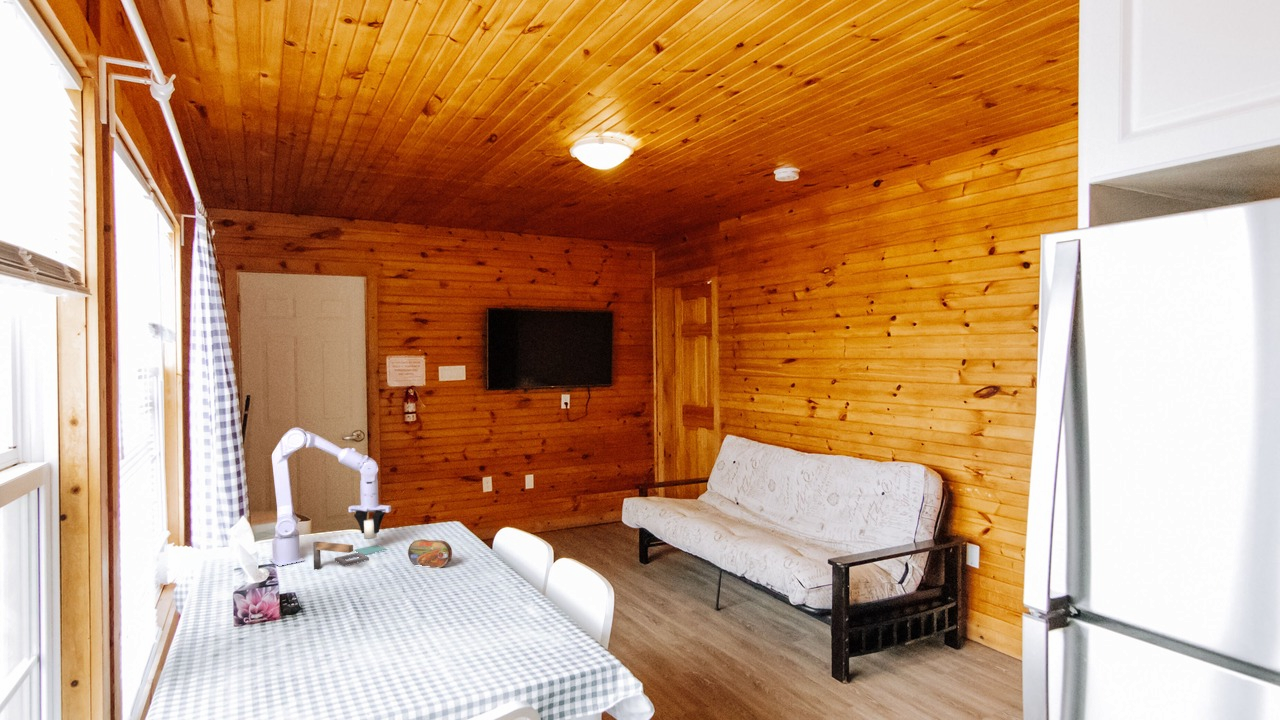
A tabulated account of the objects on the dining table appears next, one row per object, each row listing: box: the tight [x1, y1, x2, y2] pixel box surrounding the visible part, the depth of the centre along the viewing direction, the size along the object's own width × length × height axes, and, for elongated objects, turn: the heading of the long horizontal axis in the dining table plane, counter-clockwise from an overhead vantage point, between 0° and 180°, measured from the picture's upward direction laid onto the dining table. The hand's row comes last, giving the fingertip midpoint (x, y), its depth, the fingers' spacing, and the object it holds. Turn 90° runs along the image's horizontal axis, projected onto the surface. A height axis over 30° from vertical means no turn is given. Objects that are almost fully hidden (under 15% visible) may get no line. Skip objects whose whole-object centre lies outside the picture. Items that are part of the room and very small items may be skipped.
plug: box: [363, 518, 378, 540], centre depth 235 cm, size 4×4×6 cm
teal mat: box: [353, 544, 388, 556], centre depth 235 cm, size 8×8×1 cm
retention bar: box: [312, 541, 354, 570], centre depth 215 cm, size 14×2×8 cm, turn 72°
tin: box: [407, 539, 453, 569], centre depth 218 cm, size 15×3×8 cm, turn 73°
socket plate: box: [334, 552, 370, 567], centre depth 225 cm, size 8×8×1 cm
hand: (370, 532), depth 235 cm, fingers closed on plug, 4 cm apart
